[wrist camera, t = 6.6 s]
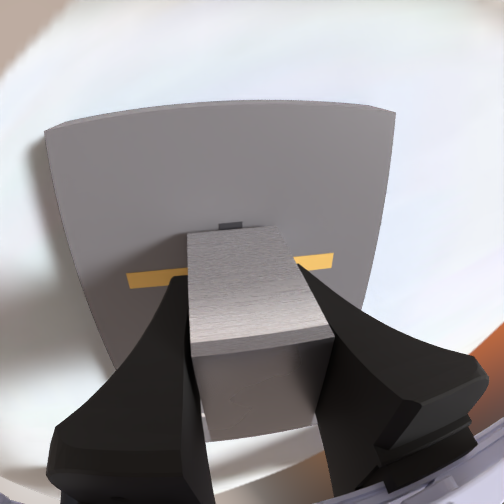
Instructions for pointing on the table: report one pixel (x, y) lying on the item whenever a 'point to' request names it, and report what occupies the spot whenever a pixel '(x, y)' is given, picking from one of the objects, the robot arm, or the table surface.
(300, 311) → the fader knob
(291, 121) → the fader console
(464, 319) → the table surface
